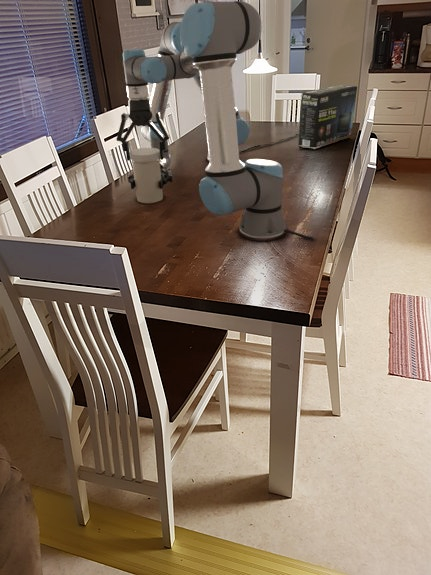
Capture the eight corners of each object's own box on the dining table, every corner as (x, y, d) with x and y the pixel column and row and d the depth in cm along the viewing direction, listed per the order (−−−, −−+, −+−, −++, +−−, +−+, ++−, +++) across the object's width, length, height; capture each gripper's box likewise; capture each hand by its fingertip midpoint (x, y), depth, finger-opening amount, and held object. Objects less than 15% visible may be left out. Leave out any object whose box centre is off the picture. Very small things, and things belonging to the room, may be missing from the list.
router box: (314, 151, 231) (318, 94, 217) (296, 148, 237) (299, 92, 224) (352, 138, 251) (358, 85, 238) (335, 135, 258) (340, 83, 245)
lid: (164, 158, 170) (163, 152, 169) (136, 163, 166) (135, 156, 165) (153, 152, 179) (153, 146, 178) (126, 156, 175) (126, 150, 173)
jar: (139, 204, 175) (133, 159, 166) (135, 196, 184) (129, 152, 175) (165, 201, 178) (161, 156, 169) (160, 192, 186) (156, 149, 177)
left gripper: (184, 176, 194) (176, 194, 175) (131, 177, 196) (118, 195, 177) (183, 158, 190) (175, 175, 171) (129, 159, 192) (115, 176, 173)
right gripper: (102, 101, 159) (111, 162, 170) (171, 99, 158) (176, 161, 169) (107, 97, 166) (116, 157, 177) (174, 95, 164) (178, 155, 175)
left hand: (146, 185), depth 174 cm, fingers closed on jar, 10 cm apart
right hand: (145, 159), depth 173 cm, fingers open, 12 cm apart
